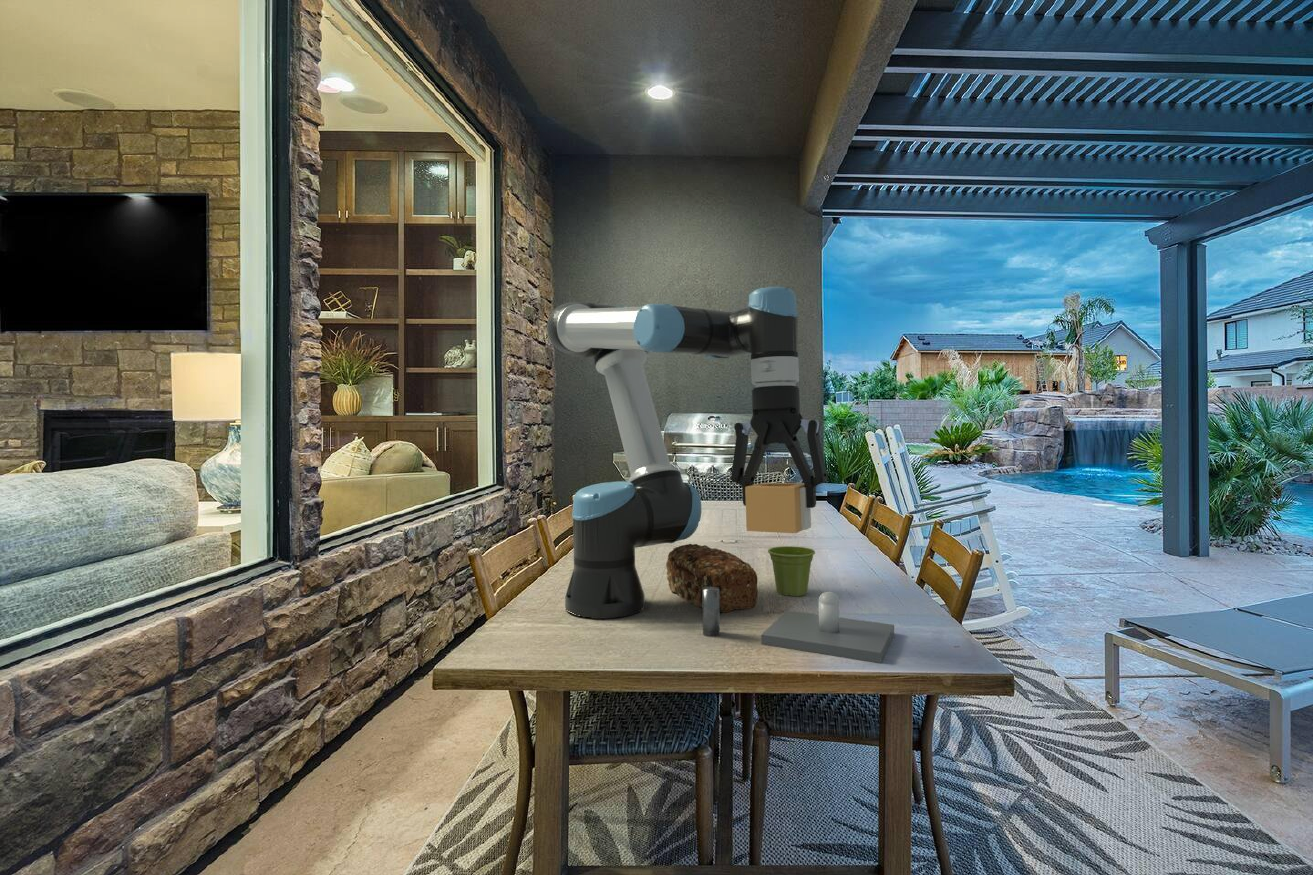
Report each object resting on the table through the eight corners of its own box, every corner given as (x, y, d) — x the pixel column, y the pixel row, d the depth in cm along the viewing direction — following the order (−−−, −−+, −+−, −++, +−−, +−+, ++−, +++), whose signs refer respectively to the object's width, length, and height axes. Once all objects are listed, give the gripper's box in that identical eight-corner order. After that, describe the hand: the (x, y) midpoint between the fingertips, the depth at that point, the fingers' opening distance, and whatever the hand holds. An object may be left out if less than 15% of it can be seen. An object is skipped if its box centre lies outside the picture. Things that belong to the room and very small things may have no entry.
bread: (665, 592, 132) (664, 544, 132) (709, 585, 137) (709, 539, 136) (712, 616, 115) (711, 561, 115) (760, 608, 120) (760, 555, 120)
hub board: (761, 643, 101) (761, 596, 100) (786, 618, 113) (786, 576, 113) (880, 663, 92) (880, 611, 92) (894, 633, 105) (894, 587, 104)
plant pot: (759, 589, 132) (758, 548, 132) (796, 584, 136) (795, 544, 136) (786, 601, 124) (786, 557, 123) (825, 595, 128) (825, 552, 127)
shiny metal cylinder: (700, 634, 105) (699, 589, 105) (706, 629, 108) (706, 585, 107) (715, 637, 104) (715, 591, 104) (722, 632, 106) (721, 587, 106)
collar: (746, 530, 101) (745, 486, 101) (764, 524, 108) (763, 482, 108) (795, 533, 97) (794, 487, 97) (811, 526, 104) (809, 483, 104)
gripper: (706, 388, 104) (710, 527, 104) (834, 380, 94) (838, 534, 94) (725, 390, 111) (729, 521, 111) (846, 382, 100) (850, 526, 101)
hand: (779, 527), depth 102 cm, fingers closed on collar, 8 cm apart
